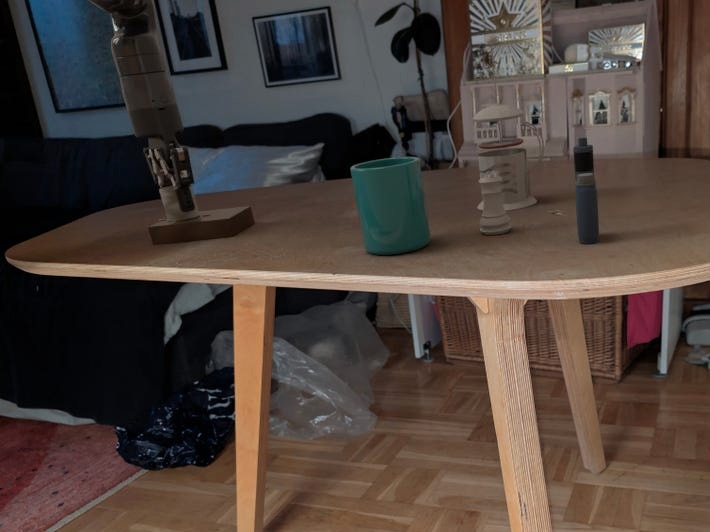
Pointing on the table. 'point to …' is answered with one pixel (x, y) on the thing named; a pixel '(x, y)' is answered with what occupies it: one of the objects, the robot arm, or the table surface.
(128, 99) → the robot arm
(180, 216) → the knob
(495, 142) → the french press
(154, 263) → the table surface
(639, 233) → the table surface
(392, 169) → the cup
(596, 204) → the vaping device
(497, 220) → the rook chess piece
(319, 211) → the table surface
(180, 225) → the panel
